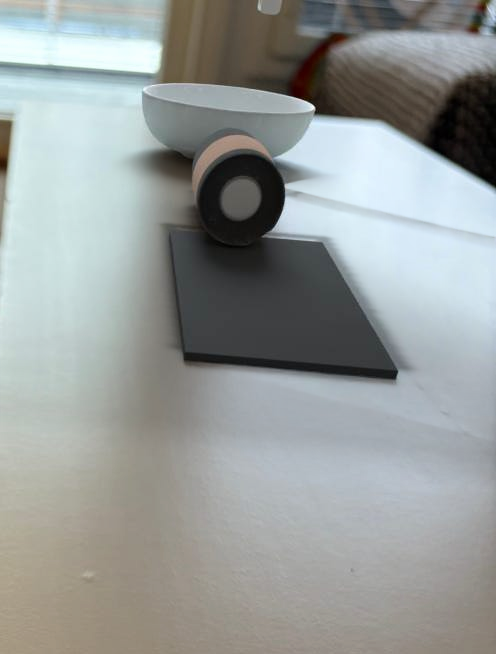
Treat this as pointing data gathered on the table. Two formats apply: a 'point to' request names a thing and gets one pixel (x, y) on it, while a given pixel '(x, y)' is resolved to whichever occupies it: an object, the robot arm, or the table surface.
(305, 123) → the serving bowl
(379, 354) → the mat
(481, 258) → the table surface
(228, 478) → the table surface
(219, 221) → the travel mug
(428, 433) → the table surface
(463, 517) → the table surface
